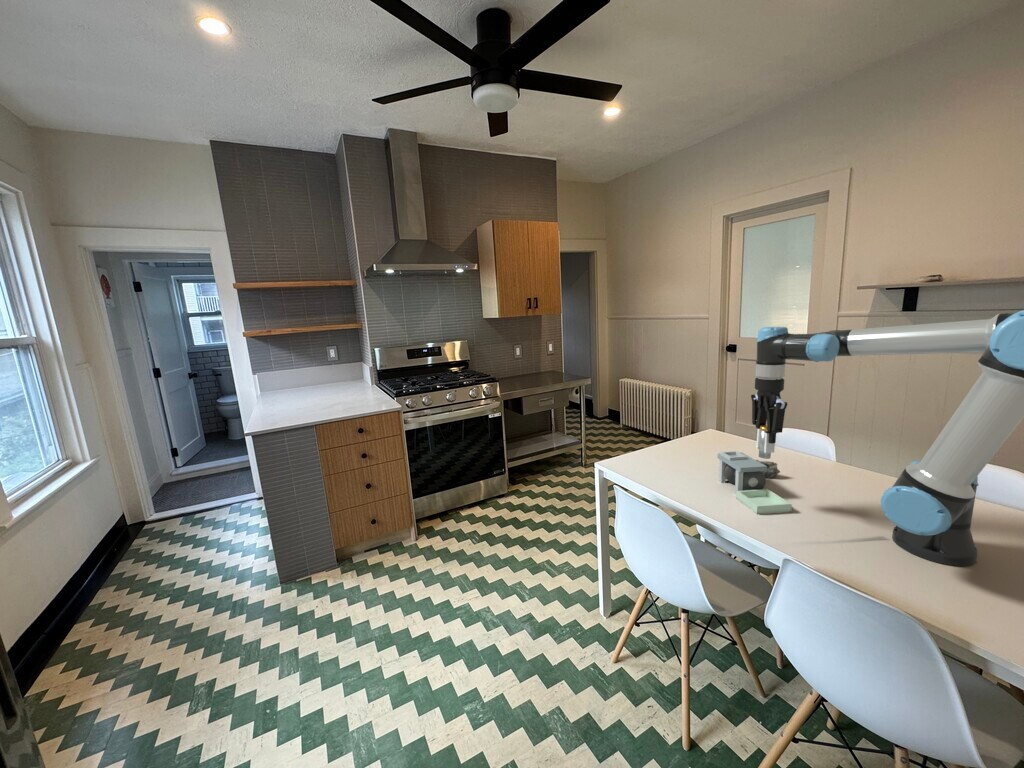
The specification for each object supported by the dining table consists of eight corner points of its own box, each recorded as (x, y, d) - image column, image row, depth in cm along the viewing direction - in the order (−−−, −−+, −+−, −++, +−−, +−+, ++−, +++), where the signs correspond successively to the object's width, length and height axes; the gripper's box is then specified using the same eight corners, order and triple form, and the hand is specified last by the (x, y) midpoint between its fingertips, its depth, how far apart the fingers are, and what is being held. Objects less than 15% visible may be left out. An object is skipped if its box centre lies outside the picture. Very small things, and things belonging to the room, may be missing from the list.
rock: (745, 456, 146) (744, 463, 154) (744, 471, 144) (744, 478, 152) (781, 460, 140) (778, 467, 148) (781, 476, 138) (778, 483, 146)
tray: (791, 512, 120) (791, 504, 120) (756, 514, 120) (757, 506, 120) (767, 496, 131) (768, 489, 131) (736, 498, 131) (736, 491, 130)
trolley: (768, 495, 132) (770, 463, 130) (739, 497, 131) (740, 465, 130) (742, 478, 145) (744, 449, 144) (716, 480, 145) (717, 451, 143)
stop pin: (773, 458, 121) (775, 427, 120) (762, 459, 121) (764, 428, 120) (766, 454, 125) (768, 424, 123) (755, 455, 125) (757, 425, 123)
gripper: (801, 381, 111) (795, 458, 115) (764, 373, 127) (760, 441, 131) (775, 382, 111) (770, 460, 115) (741, 374, 127) (738, 442, 131)
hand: (765, 450), depth 123 cm, fingers closed on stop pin, 3 cm apart
